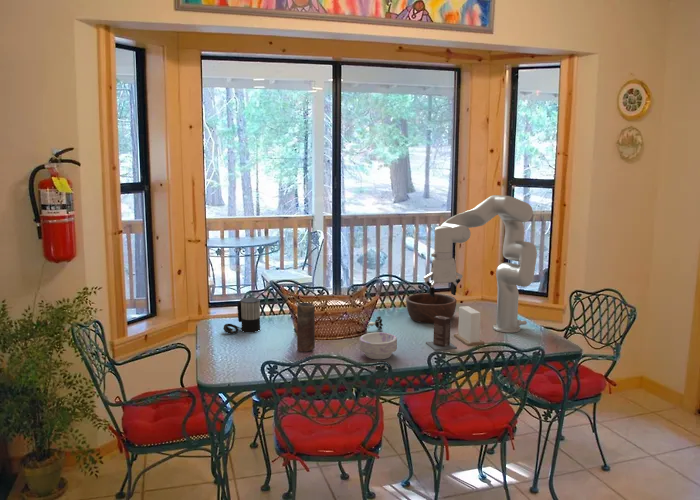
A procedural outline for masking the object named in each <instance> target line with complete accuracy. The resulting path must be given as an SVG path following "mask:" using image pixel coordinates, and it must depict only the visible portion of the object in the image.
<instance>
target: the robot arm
mask: <svg viewBox="0 0 700 500" xmlns="http://www.w3.org/2000/svg"><path fill="white" fill-rule="evenodd" d="M533 213H534V210H533V207H532V205H530V204H529V203H528V202H526V201H523V200H521V199H518V198H516V197H513V196H511V195H497V194H493V195H490V196H489V197H487V198H486V199H484V200H482V202H480V203H479V204H477V205H476V206H475V207H474V208H472V209H470V210H469V209H468V210H466V211H463V212H461V213H457V214H455V215H453V216H450V218H447V220H446V221H444V222H443V223H442V224H441V225H440V226H436V227H435V229H434V246H433V247H434V251H433V252H432V253H431V257H432V258H433V259H432V261H431V267H430V273H428V274H426V275H425V276H423V280H424V282H425V284H426V285H427V286H428V288H429V289H428V290H429V292H428V293H429V294H430V296H432V297H434V296H435V294H436V293H435V289H436V288H435V286H436V284H447V283H448V284H449V283H451V285H450V293H451V295H453V296H456V293H457V286H458V284H459V283H461V280H462V278H463V274H461V273H459V272H457V269H456V260H455V258H454V257H453V245H454V244H453V243H455V244H456V243H458V244H459V243H461V244H463V243H466V242H468V241H469V240H470V238H471V233H472V232H471V230H470V229H471V228H478V227H482V226H484V225H486V224H487V223H488V222H489V221H491V220H492V219H493V218H495V217H496V216H498V217H499V218H500V219H501V221H502V222H503V224H504V229H505V230H504V239H503V247H502V256H503V258H505V259H506V260H510V261H512V262H502V263H500V264H499V265H498V266H497V267H496V270H495V276H496V278H495V279H496V282H497V284H496V285H497V297H496V298H497V300H496V303H497V304H496V323H495V324H493V325H492V328H493V330H494V331H497V332H501V333H507V334H508V333H510V334H512V333H518V332H520V331H521V325H522V326H525V325H528V322H527V320H521V319H518V313H519V311H518V310H519V298H520V297H519V293H520V292H519V290H518V286H519V287H529V286H530V285H531V284H532V282H533V281H534V276H535V271H536V264H537V263H536V262H537V257H538V249H537V247H536V245H535V244H534V243H532V242H530V241H524V239H525V226H524V224H523V223H525V222H528V221H530V220H531V219H532V217H533ZM513 261H514V262H518V263H519V264H517V263H513ZM429 279H430V281H429Z"/></svg>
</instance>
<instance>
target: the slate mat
mask: <svg viewBox="0 0 700 500" xmlns="http://www.w3.org/2000/svg"><path fill="white" fill-rule="evenodd" d="M425 344H426V345H427V346H428V347H429V348H431V349H433V351H446V350H455V349H457V346H456V345H455V344H452V343H451V342H450V345H448V346H446V347H444V346H440V345H436V344H433V341H425Z"/></svg>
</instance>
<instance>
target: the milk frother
mask: <svg viewBox="0 0 700 500" xmlns="http://www.w3.org/2000/svg"><path fill="white" fill-rule="evenodd" d="M260 301H261V298H258V297H244V298H241V299H240V300H239V301H238V302H237V305H236V306H237V307H236V308H237V318H238V319H237V321H238V322H239V323H241V327H240V326H237V325H235V324H233V323H225V324H224V325H223V330H224V332H225V333H227V334H228V333H230V334H232V335H234V334H233V333H235V334H237V333H238V332H239V329H240V331H241V330H242V331H244V332H243V333H246V332H253V333H256V332H255V331H258V330H260V328H261V318H260V317H261V302H260ZM242 331H241V332H242ZM260 331H261V330H260ZM236 332H237V333H236ZM258 332H259V331H258Z"/></svg>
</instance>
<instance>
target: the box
mask: <svg viewBox="0 0 700 500" xmlns="http://www.w3.org/2000/svg"><path fill="white" fill-rule="evenodd" d="M450 319H451V320H452V318H448V317H443V316H436V317H434V323H433V339H432V340H433V341H432V342H433V344H436V345H440V346H444V347H446V346H448V345H450V343H451V320H450Z"/></svg>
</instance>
